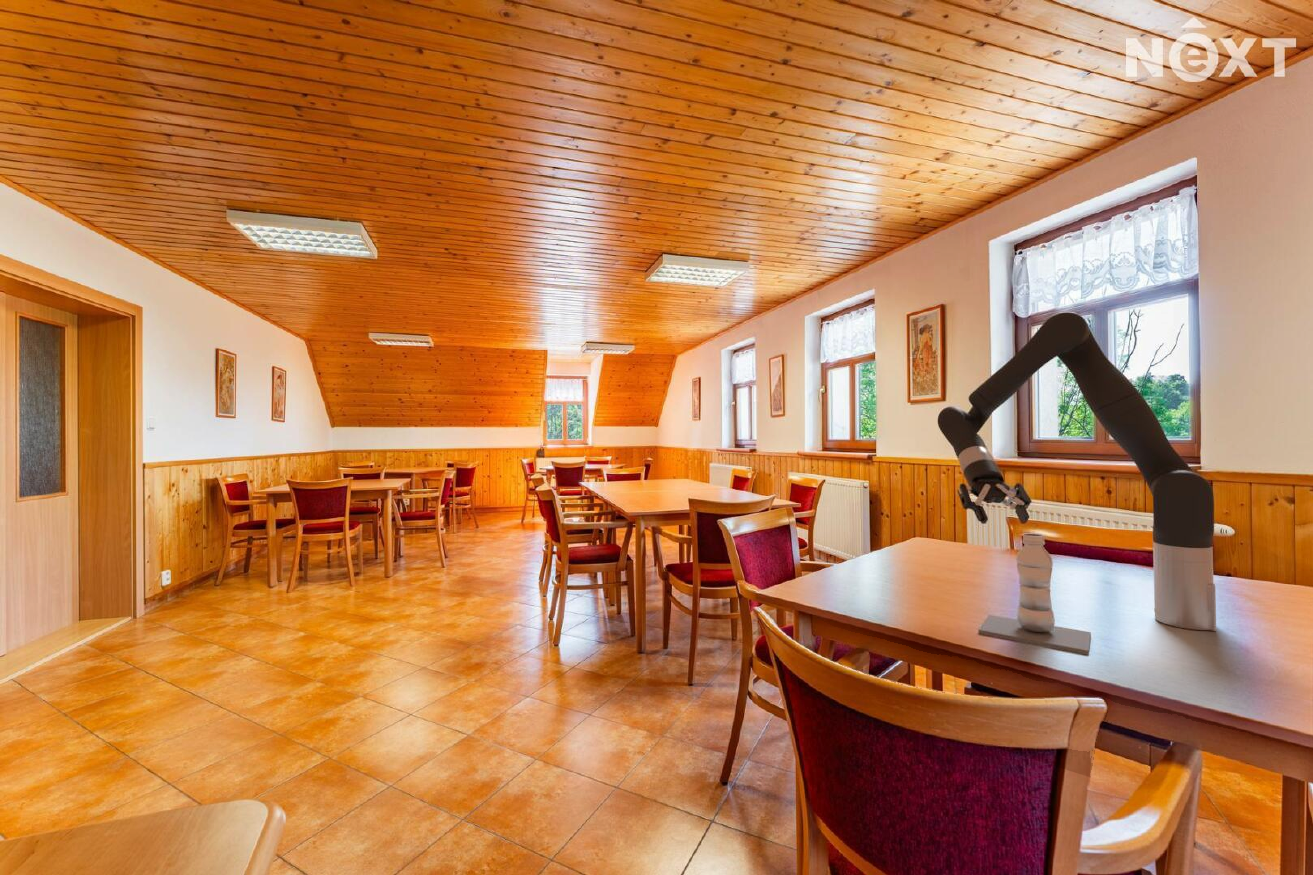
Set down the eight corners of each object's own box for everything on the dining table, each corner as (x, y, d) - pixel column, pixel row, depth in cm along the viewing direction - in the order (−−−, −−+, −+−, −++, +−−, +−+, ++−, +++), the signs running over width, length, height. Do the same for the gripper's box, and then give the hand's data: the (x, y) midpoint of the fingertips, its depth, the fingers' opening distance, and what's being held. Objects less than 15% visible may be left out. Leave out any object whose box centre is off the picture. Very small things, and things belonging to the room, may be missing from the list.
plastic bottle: (1056, 629, 111) (1053, 533, 111) (1054, 638, 106) (1051, 538, 106) (1019, 622, 115) (1016, 530, 116) (1015, 631, 110) (1012, 535, 110)
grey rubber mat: (1090, 636, 109) (1090, 632, 109) (1088, 654, 100) (1088, 650, 100) (989, 618, 121) (989, 614, 121) (978, 633, 112) (978, 629, 112)
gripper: (953, 458, 130) (977, 511, 119) (1015, 457, 129) (1045, 511, 117) (945, 478, 136) (966, 531, 124) (1004, 477, 134) (1032, 531, 123)
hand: (1005, 521), depth 121 cm, fingers open, 8 cm apart
